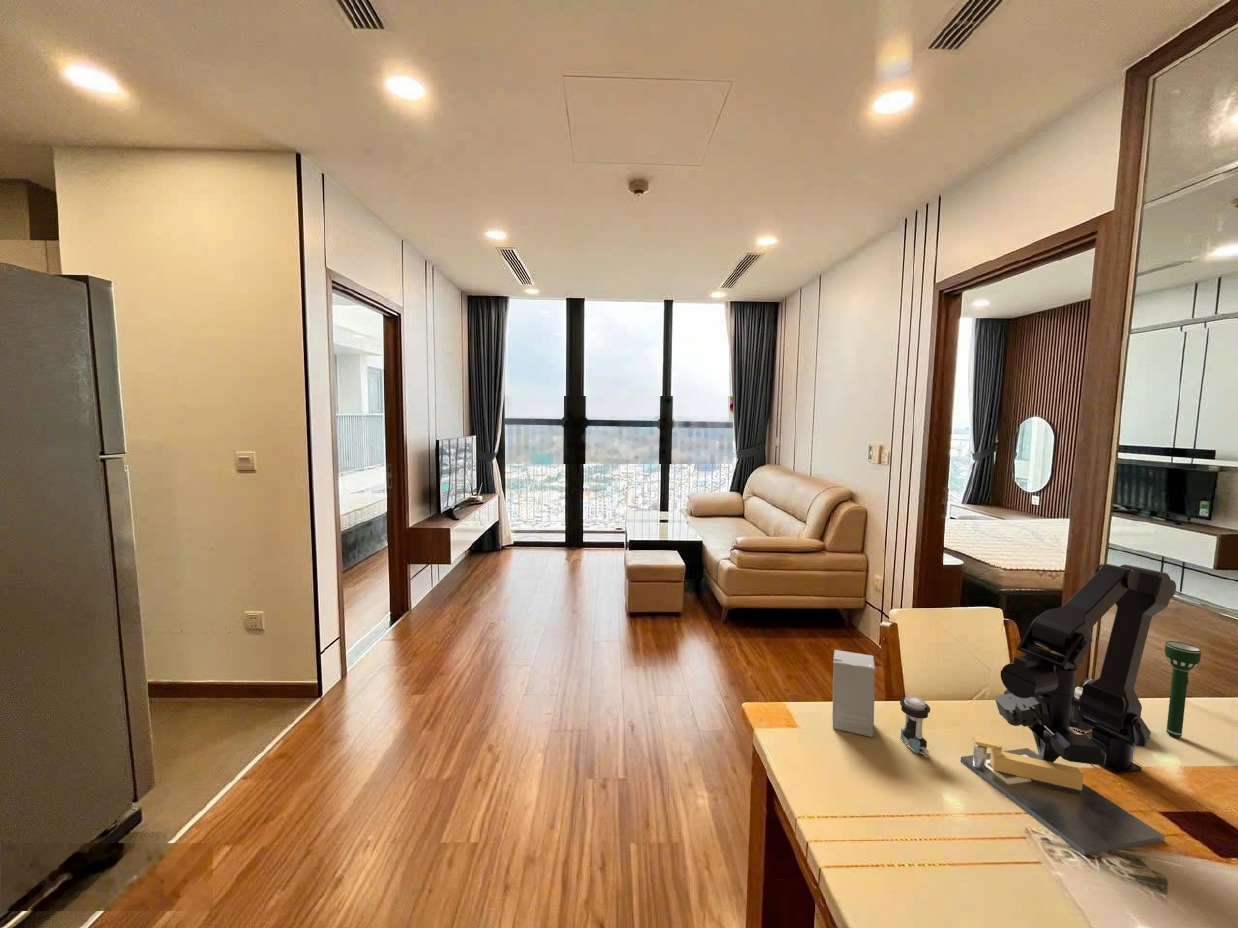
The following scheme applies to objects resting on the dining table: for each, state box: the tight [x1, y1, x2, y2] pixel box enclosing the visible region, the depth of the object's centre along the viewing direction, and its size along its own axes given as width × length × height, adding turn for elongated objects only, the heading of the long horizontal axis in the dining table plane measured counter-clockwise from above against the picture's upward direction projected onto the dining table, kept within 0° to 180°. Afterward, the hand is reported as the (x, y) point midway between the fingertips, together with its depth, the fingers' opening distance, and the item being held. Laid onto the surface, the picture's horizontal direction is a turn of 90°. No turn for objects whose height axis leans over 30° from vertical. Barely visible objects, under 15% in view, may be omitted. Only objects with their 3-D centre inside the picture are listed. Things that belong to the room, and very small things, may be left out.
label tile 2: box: [986, 760, 1031, 784], centre depth 94 cm, size 5×6×1 cm
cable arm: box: [972, 735, 1084, 790], centre depth 92 cm, size 16×2×5 cm, turn 67°
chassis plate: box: [960, 747, 1166, 857], centre depth 88 cm, size 16×22×1 cm
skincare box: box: [832, 649, 876, 738], centre depth 108 cm, size 8×7×16 cm
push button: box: [899, 695, 931, 758], centre depth 101 cm, size 7×5×10 cm
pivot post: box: [972, 741, 988, 770], centre depth 95 cm, size 2×2×5 cm
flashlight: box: [1164, 640, 1202, 738], centre depth 107 cm, size 5×5×20 cm
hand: (1045, 765), depth 93 cm, fingers closed
